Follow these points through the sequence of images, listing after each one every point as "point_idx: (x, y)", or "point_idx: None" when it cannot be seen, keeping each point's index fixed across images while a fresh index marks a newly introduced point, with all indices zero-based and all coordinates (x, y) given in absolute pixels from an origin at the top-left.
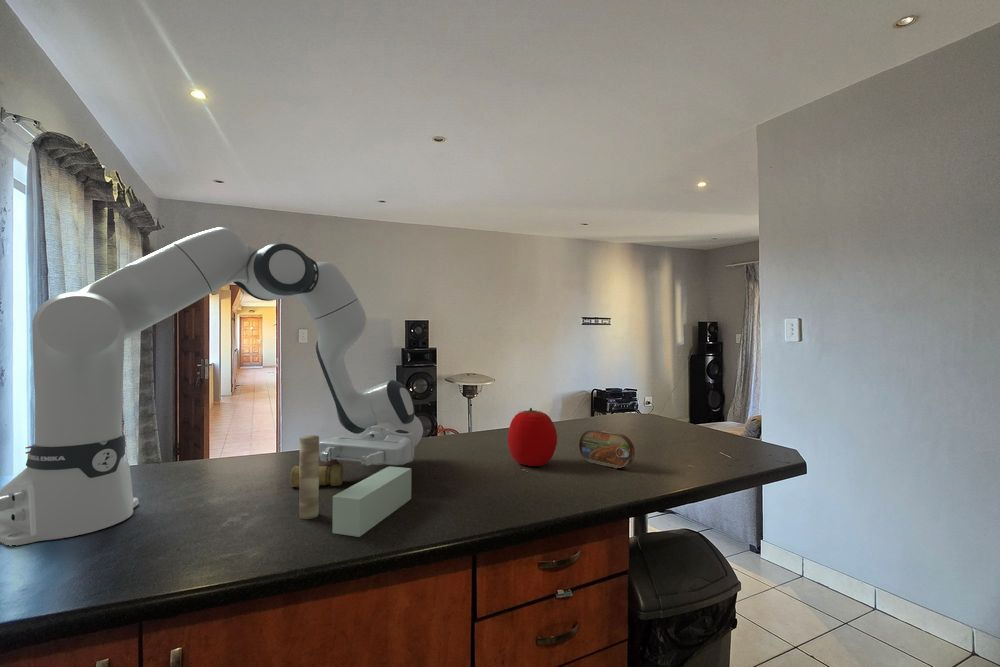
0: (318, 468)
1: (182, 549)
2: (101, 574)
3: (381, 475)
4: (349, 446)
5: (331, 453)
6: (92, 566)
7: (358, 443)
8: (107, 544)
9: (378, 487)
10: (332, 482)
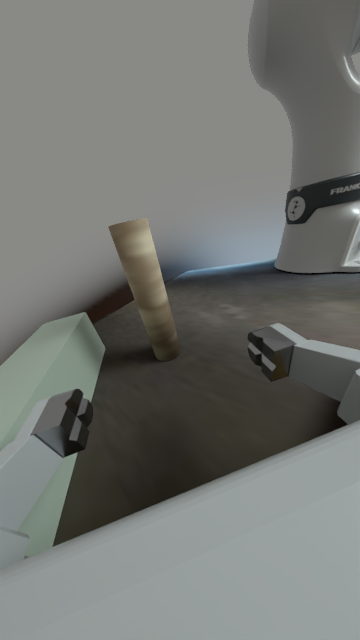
0: (133, 293)
1: (197, 291)
2: (200, 277)
3: (4, 400)
4: (283, 454)
5: (272, 357)
6: (214, 275)
7: (274, 612)
8: (245, 274)
9: (14, 352)
10: None
